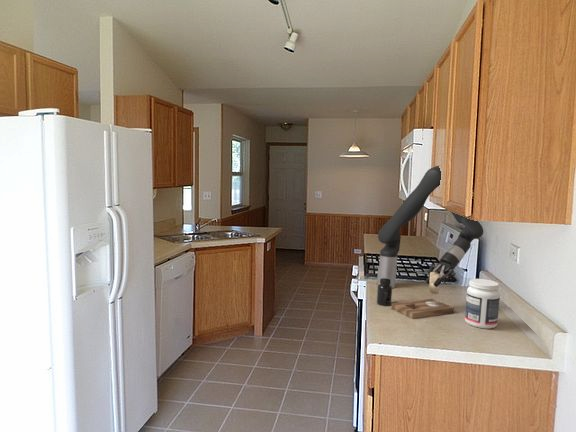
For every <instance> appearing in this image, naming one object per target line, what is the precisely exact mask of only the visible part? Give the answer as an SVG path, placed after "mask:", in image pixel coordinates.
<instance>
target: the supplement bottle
mask: <svg viewBox="0 0 576 432" xmlns="http://www.w3.org/2000/svg"><path fill="white" fill-rule="evenodd" d="M390 281H391V280H390V279H387V278H381V279H380V284H379V285H377V290H376V292H377V293H376V304H377V305H379V306H383V307H388V306H392V297H393V296H392V295H393V288H392V286H391V285H390V284H391V283H390Z"/></svg>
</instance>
